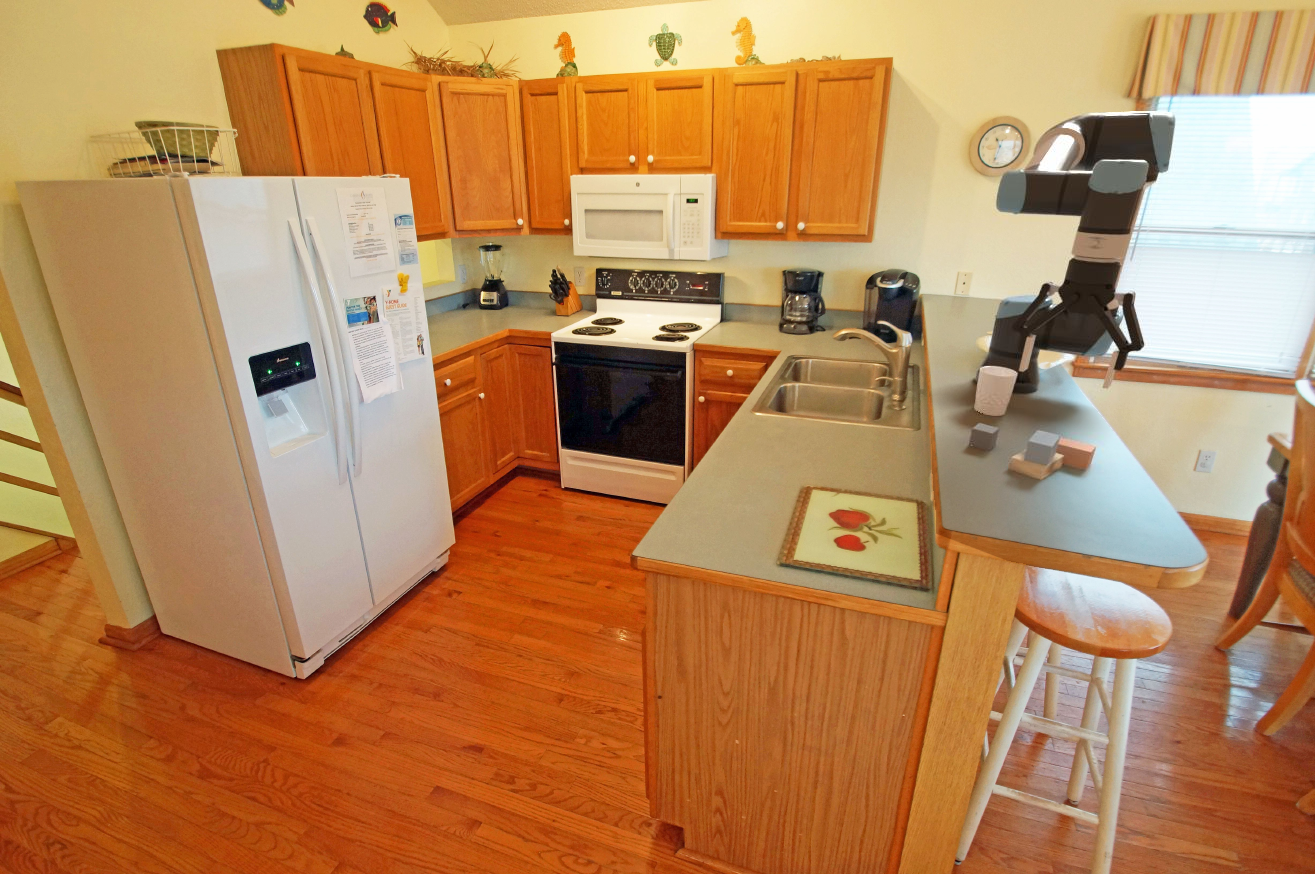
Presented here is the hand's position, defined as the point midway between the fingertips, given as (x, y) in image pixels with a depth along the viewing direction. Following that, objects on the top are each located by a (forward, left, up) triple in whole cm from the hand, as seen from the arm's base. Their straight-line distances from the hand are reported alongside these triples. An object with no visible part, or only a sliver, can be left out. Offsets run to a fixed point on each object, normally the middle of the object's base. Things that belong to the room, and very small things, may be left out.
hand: (1063, 378), depth 118 cm
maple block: (0, -1, -19) cm, 19 cm away
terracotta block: (-8, +3, -19) cm, 21 cm away
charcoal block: (-4, -12, -19) cm, 23 cm away
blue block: (0, 0, -16) cm, 16 cm away
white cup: (-26, -18, -19) cm, 37 cm away
